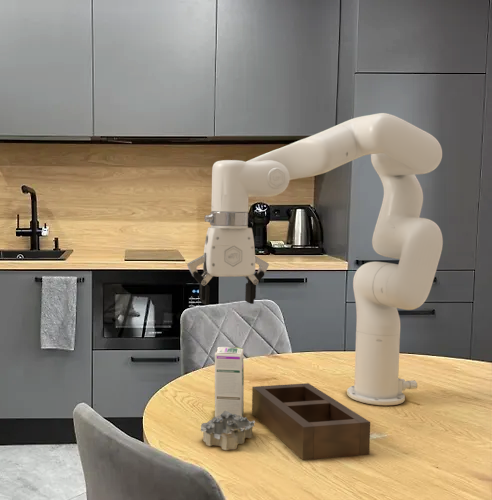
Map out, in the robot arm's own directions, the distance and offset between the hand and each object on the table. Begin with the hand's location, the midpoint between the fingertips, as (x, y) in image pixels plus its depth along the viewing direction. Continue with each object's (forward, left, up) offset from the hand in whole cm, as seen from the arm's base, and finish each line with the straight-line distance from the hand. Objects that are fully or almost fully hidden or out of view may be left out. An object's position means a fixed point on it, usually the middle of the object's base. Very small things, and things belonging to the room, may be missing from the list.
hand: (227, 303), depth 128 cm
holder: (-13, +11, -24) cm, 30 cm away
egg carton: (+4, +12, -25) cm, 27 cm away
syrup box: (-1, 0, -25) cm, 25 cm away
